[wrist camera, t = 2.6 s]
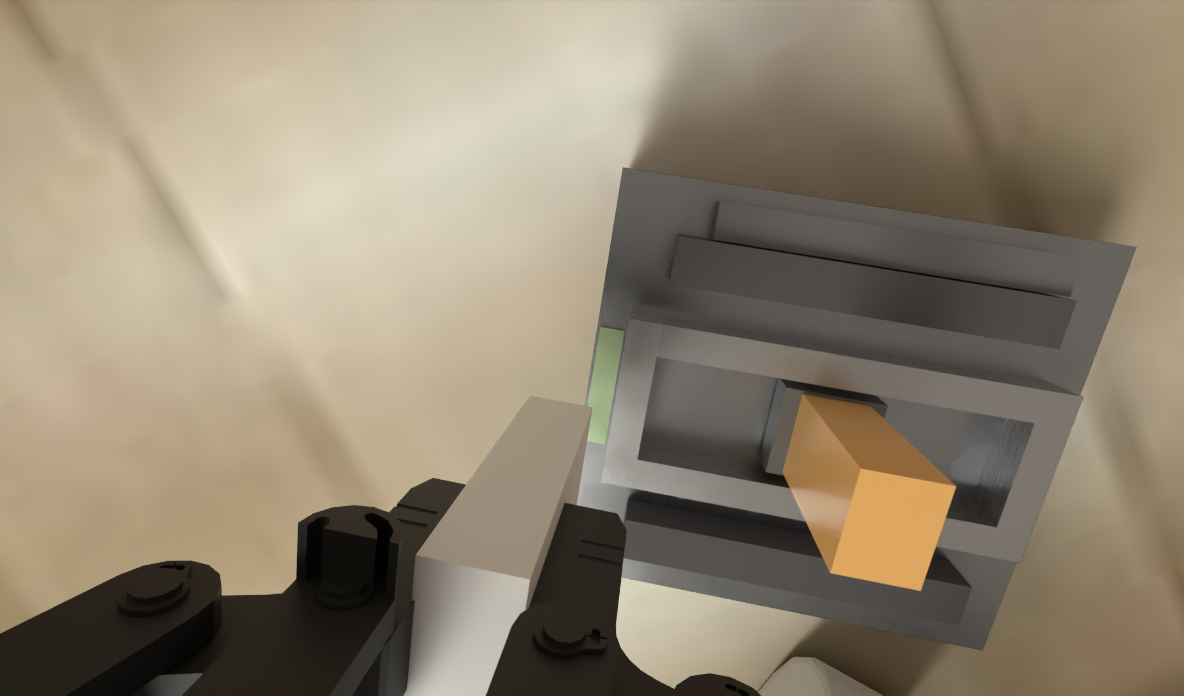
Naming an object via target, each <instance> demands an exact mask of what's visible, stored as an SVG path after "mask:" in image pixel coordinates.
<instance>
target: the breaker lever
mask: <svg viewBox="0 0 1184 696" xmlns="http://www.w3.org/2000/svg"><path fill="white" fill-rule="evenodd" d="M887 408H888V405H887V404H886V403H884V402H883V401H882V400H881V399H880V398H879V397H877V396H876V395H871V394H866V393H860V392H854V391H848V390H843V389H837V388H831V387H826V386H820V385H814V384H809V383H803V382H797V381H792V380H786V379H780V378H778V381H777V385H776V389H775V394H774V398H773V402H772V406H771V410H770V414H769V418H768V422H767V426H766V430H765V435H764V439H763V443H762V447H761V451H760V455H759V457H760V460H761V462H762V464H763V467H764V469H765V472H768V473H773V474H778V475H784V476H785V479H786V481H787V483H788V485H789V487H790V489H791V491H792V493H793V495H794V498H795V500H796V502H797V504H798V506H799V508H800V510H801V512H802V515H803V517H804V519H805V521H806V523H807V525H808V527H809V529H810V531H811V534H812V536H813V538H814V540H815V542H816V544H817V546H818V548H819V550H820V553H821V555H822V557H823V559H824V561H825V563H826V565H827V567H828V569H829V572H830V573H832V574H837V575H842V576H847V577H852V578H858V579H863V580H868V581H873V582H878V583H883V584H888V585H893V586H898V587H903V588H908V589H913V590H918V591H921V589H922V586H923V583H924V580H925V577H926V574H927V571H928V568H929V565H930V562H931V559H932V556H933V553H934V550H935V548H936V545H937V542H938V539H939V536H940V533H941V530H942V527H943V524H944V521H945V518H946V515H947V512H948V509H949V506H950V503H951V501H952V498H953V495H954V492H955V489H956V486H955V485H954V484H953V483H952V482H951V481H950V480H949V479H948V478H947V477H946V476H945V475H944V474H943V473H942V472H940V471H939V470H938V469H937V468H936V467H935V466H934V465H933V464H932V463H931V462H930V461H929V460H928V459H927V458H925V457H924V456H923V455H922V454H921V453H920V452H919V451H918V450H917V449H916V448H915V447H914V446H913V445H912V444H910V443H909V442H908V441H907V440H906V439H905V438H904V437H903V436H902V435H901V434H900V433H899V432H898V431H897V430H895V429H894V428H893V427H892V426H891V425H890V424H889V423H888V422H887V421H886V420H885V419H884V418H885V415H886V411H887Z"/></svg>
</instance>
